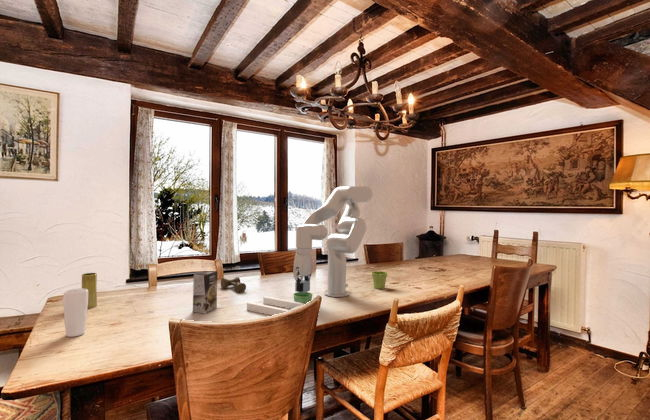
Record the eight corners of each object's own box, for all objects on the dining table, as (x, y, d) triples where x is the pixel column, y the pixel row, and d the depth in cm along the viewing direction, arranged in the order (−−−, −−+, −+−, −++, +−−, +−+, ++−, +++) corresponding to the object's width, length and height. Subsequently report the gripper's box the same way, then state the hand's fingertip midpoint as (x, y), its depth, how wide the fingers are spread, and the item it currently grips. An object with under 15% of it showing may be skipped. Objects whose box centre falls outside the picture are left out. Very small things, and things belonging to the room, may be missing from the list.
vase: (100, 305, 144) (101, 273, 144) (86, 309, 138) (87, 275, 138) (90, 303, 146) (91, 272, 146) (76, 307, 140) (77, 274, 140)
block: (300, 289, 157) (301, 279, 157) (309, 290, 155) (310, 281, 155) (295, 291, 153) (295, 281, 152) (304, 292, 150) (304, 283, 150)
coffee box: (206, 313, 136) (206, 274, 136) (192, 312, 137) (192, 274, 137) (217, 307, 145) (218, 270, 145) (204, 306, 146) (205, 270, 146)
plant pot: (367, 288, 185) (368, 272, 185) (375, 285, 193) (375, 270, 193) (383, 290, 180) (383, 275, 180) (390, 287, 188) (390, 272, 188)
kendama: (233, 295, 167) (217, 286, 182) (250, 292, 174) (233, 284, 189) (233, 283, 167) (217, 275, 182) (250, 281, 174) (233, 274, 189)
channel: (266, 302, 153) (266, 296, 153) (306, 310, 142) (306, 303, 142) (246, 309, 142) (246, 302, 142) (289, 319, 131) (289, 311, 131)
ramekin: (299, 307, 147) (299, 297, 147) (289, 302, 154) (289, 293, 154) (316, 304, 152) (316, 295, 152) (305, 299, 160) (305, 290, 160)
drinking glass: (71, 330, 115) (72, 288, 115) (92, 330, 115) (92, 288, 115) (57, 338, 108) (58, 293, 108) (79, 338, 109) (80, 293, 108)
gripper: (306, 248, 163) (306, 285, 163) (286, 252, 148) (285, 292, 148) (319, 250, 159) (319, 287, 159) (300, 254, 144) (299, 295, 144)
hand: (303, 289), depth 153 cm, fingers closed on block, 5 cm apart
